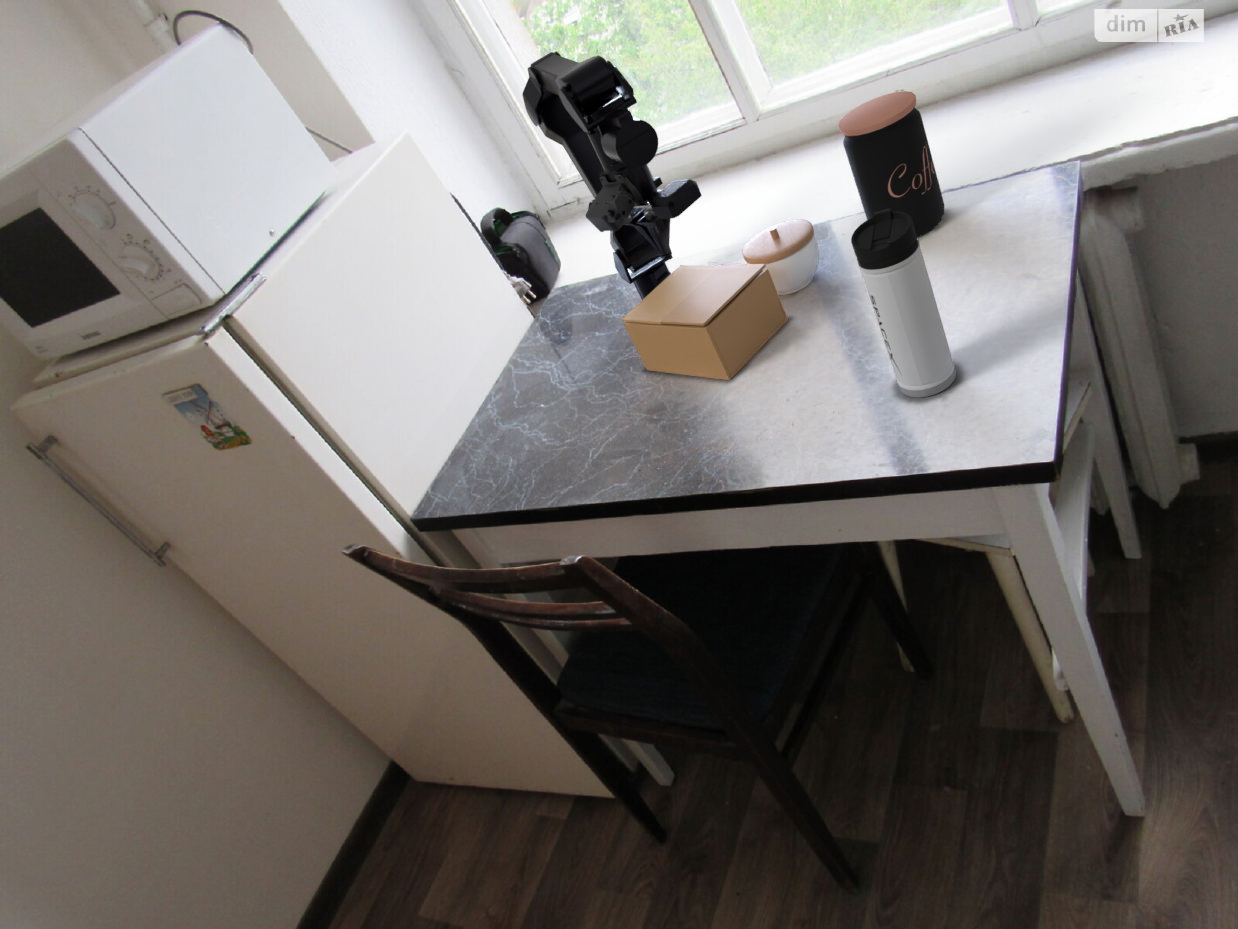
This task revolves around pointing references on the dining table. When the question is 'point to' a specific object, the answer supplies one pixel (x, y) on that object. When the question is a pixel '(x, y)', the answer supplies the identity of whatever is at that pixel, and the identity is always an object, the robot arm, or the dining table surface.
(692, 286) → the flap
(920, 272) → the travel mug
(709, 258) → the dining table surface
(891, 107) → the coffee jar
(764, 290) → the carton
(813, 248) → the trinket box
